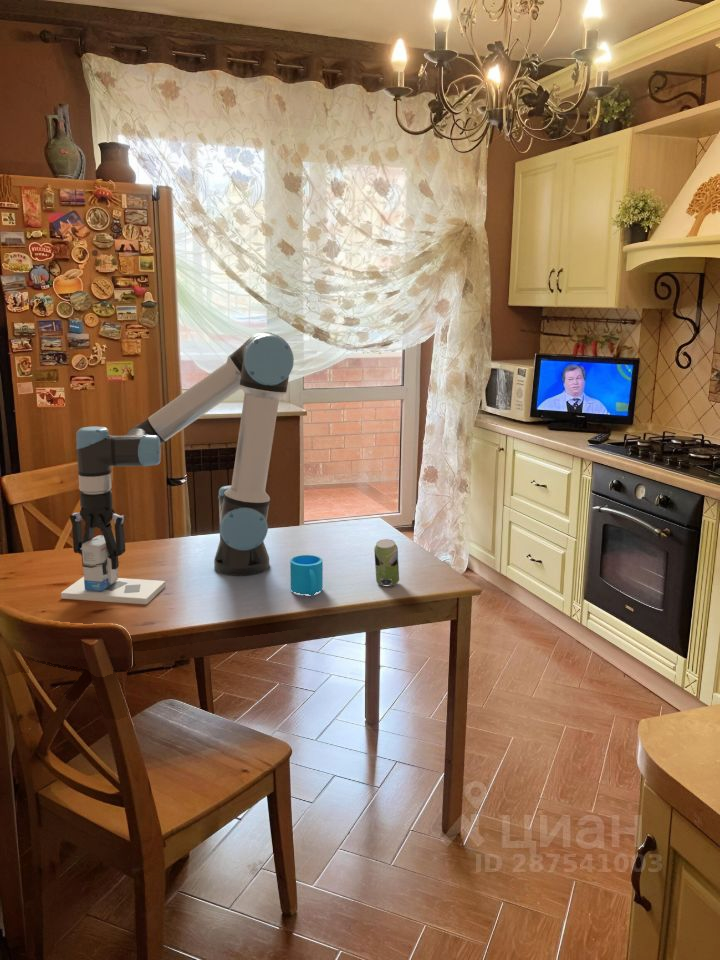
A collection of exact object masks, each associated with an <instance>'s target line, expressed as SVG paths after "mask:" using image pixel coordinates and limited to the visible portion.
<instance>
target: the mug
mask: <svg viewBox="0 0 720 960" xmlns="http://www.w3.org/2000/svg"><path fill="white" fill-rule="evenodd" d="M323 561H324V560H323V559H322V558H321V556H318V555H311V554H302V555H297V556H294V557H292V558H290V561H289V563H290V566H289V567H290V571H289V572H290V591H291V590H292V591H293V592H296V593H300V594H309V595H314V594H315V593H316V592H319V591H321V590H322V588H323V583H324V582H323V579H324V578H323V566H324V565H323V563H324V562H323ZM322 591H323V590H322ZM314 596H315V595H314Z"/></svg>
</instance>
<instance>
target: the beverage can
mask: <svg viewBox="0 0 720 960" xmlns="http://www.w3.org/2000/svg"><path fill="white" fill-rule="evenodd" d="M373 549H374V563H375V564H374V565H375V581H376V583H377V584H378V585H380V584H381V585H394V586H395V585H397V584H398V583H399V581H400V571H399V570H400V567H399V548H398V546H397V544H396V542H395V541H394V540H393V539H380V540H379V541H377V542H376V544H375V546H374V548H373ZM381 585H380V586H381Z"/></svg>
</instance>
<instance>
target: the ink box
mask: <svg viewBox="0 0 720 960" xmlns="http://www.w3.org/2000/svg"><path fill="white" fill-rule="evenodd" d="M114 539H115V542H116V538H115V536H114ZM82 556H83V566H82V568H83V570H82V571H83V577H84V586H85V590H92V591H103V590H105V589H106V588H107V587H109V586H110V585H111V584H113V583H114V582H116V581H117V580H118V578H119V576H118V575H119V574H118V568H117V569H116V580H115V581H113V582H112V583H109V582H108V565H107V558H108V557H109V556H110V554H109V551H108V548H107V545H106V542H105V539H104V536H103V534H101V535H100V534H99V535H96V536H95V537H94V536H93V538H92V539H91V540H89V541H87V542H85V543H83V545H82ZM82 556H81V557H82Z"/></svg>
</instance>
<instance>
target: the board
mask: <svg viewBox="0 0 720 960" xmlns="http://www.w3.org/2000/svg"><path fill="white" fill-rule="evenodd" d="M166 586H167V585H166V580H156V579H155V580H154V579H153V580H152V579H140V578H125V577H118V580H117V581H116V582H114V583H113V584H111V585H110V586H109V587H107V588H106V589H105V590H103V591H92V590H85V586H84V576H82V577H81V578H80V579H78V580H76V581H75V582H74V583H72V584H71V585H69V587H67V588H66V589H64V590H63V591H62V592H60V598H61V599H62V600H64V599H65V600H74V601H75V600H78V601H90V602H91V601H92V602H106V603H118V604H119V603H122V604H135V605H148V604H149V603H150V602H152V600H153V599H154V598H155V597H156V596H157V595H158V594H160V592H162V591H163V590H164V589H165V588H166Z"/></svg>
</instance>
